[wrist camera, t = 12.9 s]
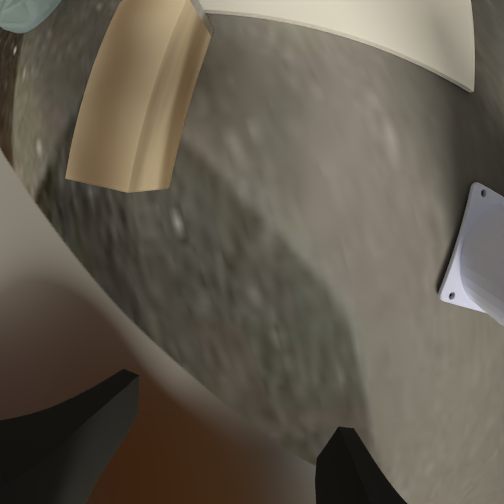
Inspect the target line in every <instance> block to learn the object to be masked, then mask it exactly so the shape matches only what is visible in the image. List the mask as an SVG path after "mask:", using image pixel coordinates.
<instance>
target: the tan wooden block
mask: <svg viewBox="0 0 504 504" xmlns="http://www.w3.org/2000/svg"><path fill="white" fill-rule="evenodd" d="M213 31H214V28H213V27H212V25H211V23H210V21H209V19H208V17H207V15H206V13H205V12H204V10H203V8H202V6H201V4H200V2H199V1H198V0H122V2H120V3H119V5H118V7H117V9H116V12H115V14H114V16H113V18H112V20H111V22H110V25H109V27H108V29H107V32H106V34H105V36H104V39H103V41H102V44H101V46H100V49H99V51H98V54H97V57H96V59H95V62H94V65H93V68H92V71H91V74H90V77H89V80H88V83H87V86H86V90H85V93H84V96H83V100H82V103H81V107H80V111H79V115H78V118H77V123H76V127H75V131H74V136H73V140H72V145H71V150H70V155H69V161H68V166H67V172H66V179H70V180H74V181H79V182H83V183H88V184H92V185H97V186H101V187H106V188H110V189H114V190H119V191H123V192H127V193H130V192H139V191H148V190H158V189H169V186H170V181H171V176H172V172H173V167H174V163H175V159H176V155H177V151H178V146H179V142H180V138H181V135H182V131H183V127H184V123H185V119H186V116H187V112H188V109H189V105H190V102H191V98H192V95H193V91H194V88H195V85H196V82H197V78H198V75H199V72H200V69H201V66H202V63H203V60H204V57H205V54H206V51H207V48H208V45H209V42H210V40H211V36H212V34H213Z"/></svg>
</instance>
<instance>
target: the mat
mask: <svg viewBox="0 0 504 504" xmlns="http://www.w3.org/2000/svg"><path fill="white" fill-rule="evenodd" d="M198 1H199V2H200V4H201V6H202V8H203V10H204V12H205V13H210V14H226V15H237V16H246V17H254V18H261V19H268V20H274V21H280V22H285V23H290V24H295V25H300V26H305V27H309V28H313V29H317V30H321V31H325V32H329V33H332V34H336V35H339V36H343V37H346V38H349V39H352V40H356V41H359V42H362V43H365V44H367V45H370V46H373V47H376V48H378V49H381V50H384V51H386V52H389V53H391V54H394V55H396V56H399V57H401V58H403V59H406V60H408V61H410V62H412V63H415V64H417V65H419V66H421V67H423V68H425V69H427V70H429V71H431V72H433V73H435V74H437V75H439V76H441V77H443V78H445V79H447V80H448V81H450V82H452V83H454V84H456V85H457V86H459V87H461V88H463V89H464V90H466V91H468V92H469V93H471V92H474V77H475V47H474V27H473V16H472V6H471V0H198Z"/></svg>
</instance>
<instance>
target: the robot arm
mask: <svg viewBox="0 0 504 504" xmlns="http://www.w3.org/2000/svg"><path fill="white" fill-rule="evenodd" d="M482 190H483V196H482V195H481V191H482ZM451 292H452V295H451V297H449V294H450V293H451ZM438 296H439V298H440V299H441V300H442V301H445V302H448V303H452V304H456V305H459V306H463V307H467V308H470V309H474V310H477V311H481V312H485V313H487V314H489V315H490V316H491V317H492V318H494V319H495V320H496V321H497V322H499V323H500V324H501V325H502V326H504V197H503V196H501V195H500V194H498V193H496V192H494V191H493V190H491V189H489V188H488V187H486V186H484V185H482V184H481V183H477V182H475V183H473V184H472V185H471V188H470V192H469V197H468V201H467V205H466V209H465V213H464V217H463V220H462V224H461V228H460V231H459V234H458V238H457V241H456V244H455V247H454V251H453V254H452V257H451V260H450V262H449V265H448V268H447V271H446V274H445V276H444V279H443V282H442V284H441V287H440V289H439V293H438ZM138 391H139V375H137V374H135V373H132V372H129V371H127V370H125V369H123V370H121V371H119V372H117V373H116V374H114V375H112V376H111V377H109V378H108V379H106V380H104V381H102V382H101V383H99V384H97V385H95V386H94V387H92V388H90V389H88V390H86V391H85V392H82V393H81V394H79V395H77V396H75V397H73V398H70V399H68V400H66V401H64V402H62V403H59V404H57V405H55V406H52V407H50V408H47V409H44V410H41V411H38V412H35V413H32V414H28V415H24V416H20V417H16V418H11V419H5V420H0V504H86V502H87V500H88V497H89V495H90V493H91V491H92V489H93V487H94V485H95V483H96V481H97V479H98V478H99V476H100V474H101V473H102V471H103V470H104V468H105V467H106V465H107V464H108V462H109V461H110V459H111V458H112V456H113V455H114V453H115V452H116V450H117V449H118V447H119V446H120V444H121V443H122V441H123V440H124V438H125V437H126V435H127V434H128V432H129V430H130V428H131V426H132V424H133V422H134V420H135V418H136V416H137V414H138ZM315 489H316V504H407V503H406V502H405V501H404V500H403V499H402V497H401V496H400V495H399V494H398V493H397V492H396V490H395V489H394V488H393V486H392V485H391V484H390V483H389V481H388V480H387V479H386V477H385V476H384V474H383V473H382V472H381V470H380V469H379V467H378V466H377V464H376V463H375V461H374V460H373V458H372V457H371V455H370V453H369V452H368V450H367V449H366V447H365V445H364V444H363V442H362V441H361V439H360V437H359V436H358V434H357V433H356V431H355V430H354V428H346V427H338V428H337V430H336V431H335V433H334V434H333V436H332V437H331V439H330V440H329V442H328V443H327V445H326V446H325V447H324V449H323V450H322V452H321V453H320V454H319V456H318V457H317V463H316V475H315Z"/></svg>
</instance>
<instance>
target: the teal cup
mask: <svg viewBox="0 0 504 504" xmlns="http://www.w3.org/2000/svg"><path fill="white" fill-rule="evenodd" d="M61 1H62V0H0V27H2V28H3V29H5V30H8V31H11V32H15V33H26V32H28V31H30V30H32V29H34V28H35V27H36V26H38V25H39V24H40V23H41V22H43V21H44V20H45V19H46V18H47V17H48V16H49V15H50V14H51V13H52V12H53V11H54V10H55V8H56V7H57V6H58V5H59V4H60V2H61Z"/></svg>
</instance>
